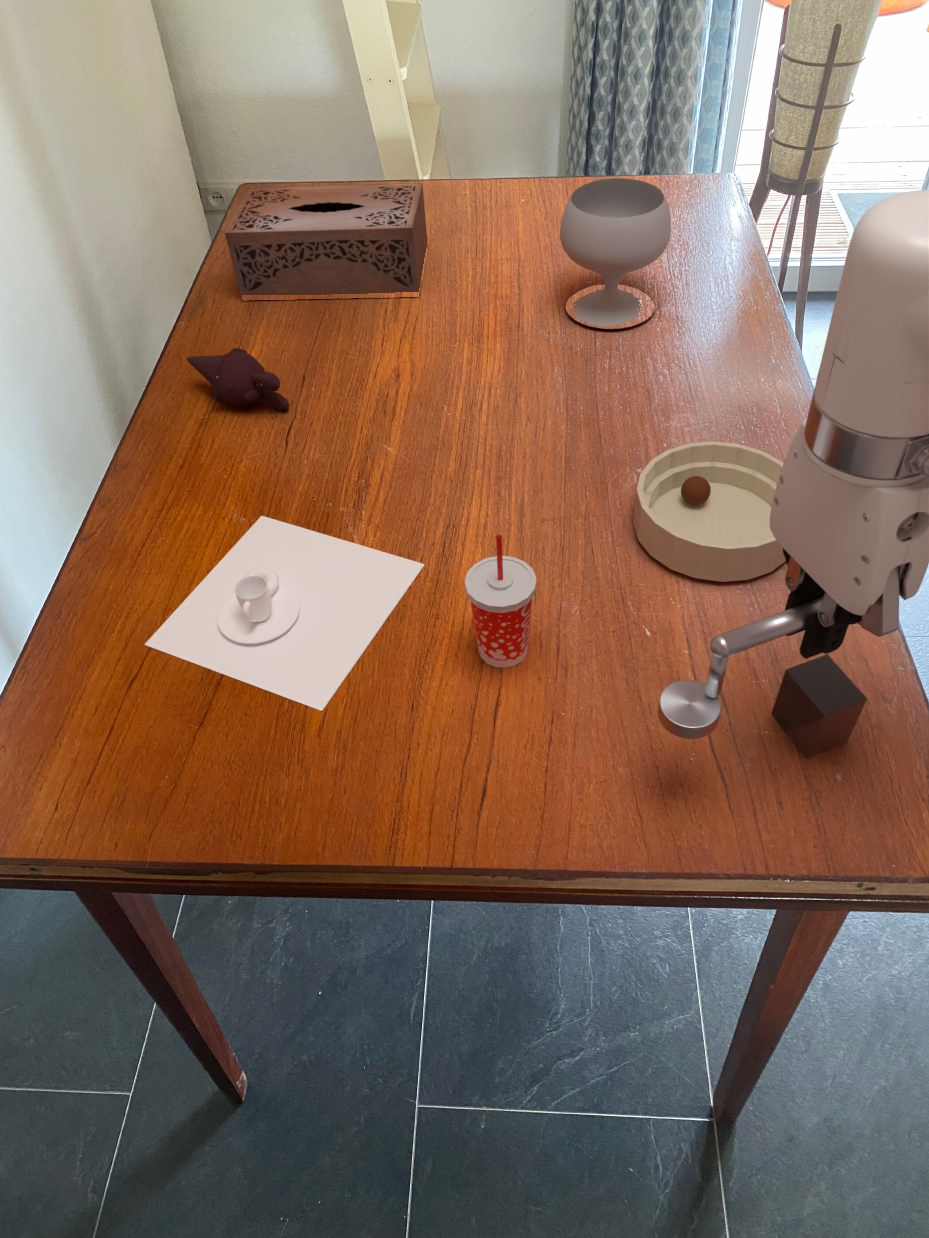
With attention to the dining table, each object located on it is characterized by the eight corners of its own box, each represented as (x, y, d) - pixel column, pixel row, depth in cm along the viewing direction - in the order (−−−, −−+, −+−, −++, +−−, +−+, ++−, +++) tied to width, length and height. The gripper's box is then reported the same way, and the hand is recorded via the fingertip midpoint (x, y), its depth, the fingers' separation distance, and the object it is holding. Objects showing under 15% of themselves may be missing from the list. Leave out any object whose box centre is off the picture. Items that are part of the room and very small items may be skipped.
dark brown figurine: (158, 359, 109) (257, 399, 105) (195, 317, 112) (293, 354, 107) (180, 398, 115) (275, 437, 111) (214, 357, 118) (308, 394, 113)
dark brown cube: (810, 698, 78) (827, 653, 74) (847, 742, 75) (867, 698, 70) (771, 713, 77) (785, 669, 73) (806, 759, 74) (823, 715, 70)
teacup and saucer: (253, 572, 92) (244, 543, 89) (319, 594, 90) (312, 564, 87) (201, 632, 87) (190, 603, 84) (270, 656, 85) (261, 627, 82)
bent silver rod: (848, 627, 71) (873, 556, 65) (886, 666, 68) (915, 596, 62) (646, 702, 67) (655, 635, 62) (677, 747, 64) (688, 681, 59)
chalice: (675, 329, 119) (689, 215, 108) (570, 342, 118) (574, 228, 107) (646, 278, 129) (656, 168, 117) (549, 290, 128) (550, 181, 117)
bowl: (738, 463, 100) (745, 426, 96) (829, 556, 89) (842, 518, 86) (606, 504, 96) (609, 467, 93) (685, 605, 86) (691, 568, 82)
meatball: (698, 489, 96) (702, 467, 94) (714, 506, 94) (718, 483, 92) (673, 497, 96) (677, 475, 94) (688, 514, 94) (692, 491, 92)
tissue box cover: (242, 301, 131) (224, 233, 123) (263, 254, 140) (248, 188, 133) (419, 297, 129) (412, 228, 121) (428, 250, 138) (422, 183, 131)
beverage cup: (506, 685, 81) (502, 574, 70) (456, 651, 84) (445, 540, 73) (550, 645, 84) (552, 533, 73) (500, 614, 87) (495, 502, 76)
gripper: (1034, 485, 48) (928, 700, 61) (843, 346, 58) (788, 556, 71) (915, 528, 46) (834, 738, 60) (741, 376, 56) (705, 585, 70)
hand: (809, 637), depth 65 cm, fingers closed on bent silver rod
